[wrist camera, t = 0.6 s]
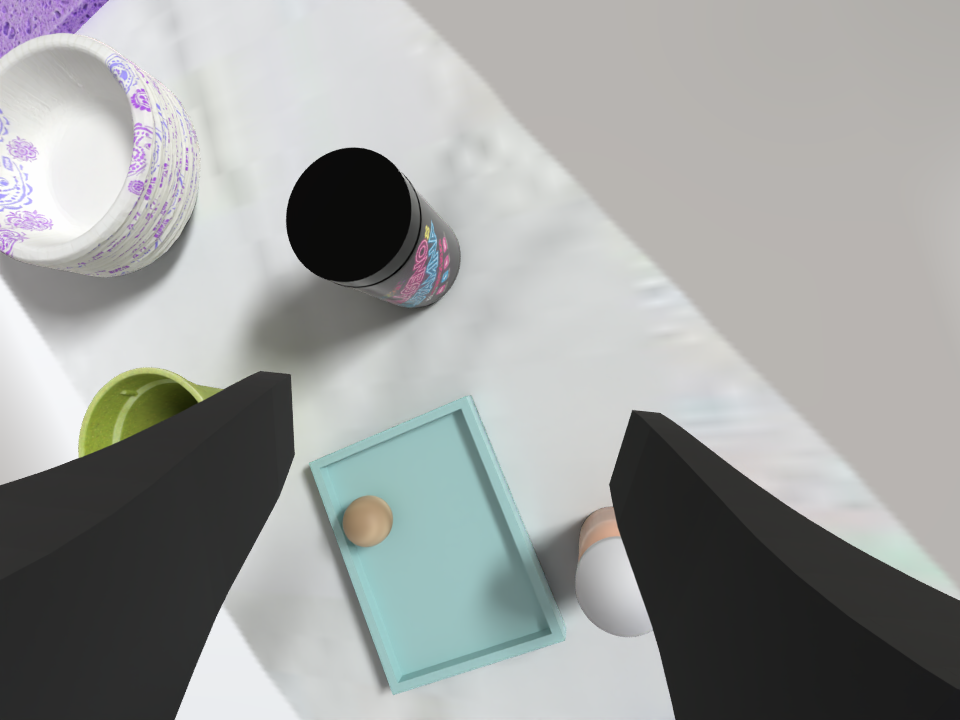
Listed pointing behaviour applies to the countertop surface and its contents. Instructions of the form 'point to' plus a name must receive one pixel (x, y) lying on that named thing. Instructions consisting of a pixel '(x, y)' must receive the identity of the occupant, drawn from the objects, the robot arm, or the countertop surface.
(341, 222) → the supplement container
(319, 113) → the countertop surface
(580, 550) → the shaker
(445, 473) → the tray
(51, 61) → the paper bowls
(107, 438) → the plant pot
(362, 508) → the ball
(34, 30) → the sponges
